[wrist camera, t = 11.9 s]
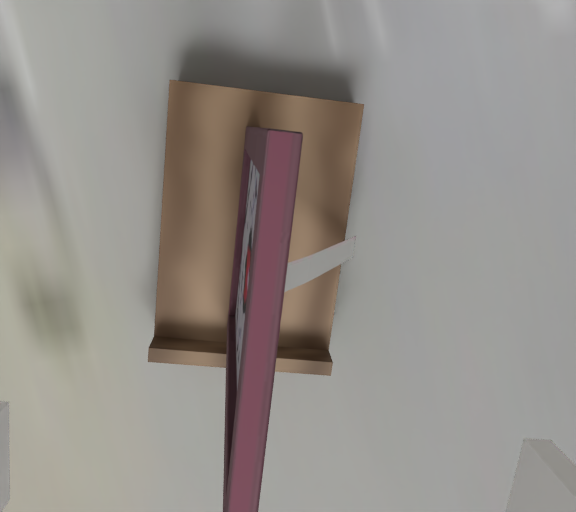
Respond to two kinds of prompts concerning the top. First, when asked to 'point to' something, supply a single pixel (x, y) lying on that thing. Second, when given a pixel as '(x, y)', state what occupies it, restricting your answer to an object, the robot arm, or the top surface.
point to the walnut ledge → (224, 211)
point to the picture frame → (261, 302)
